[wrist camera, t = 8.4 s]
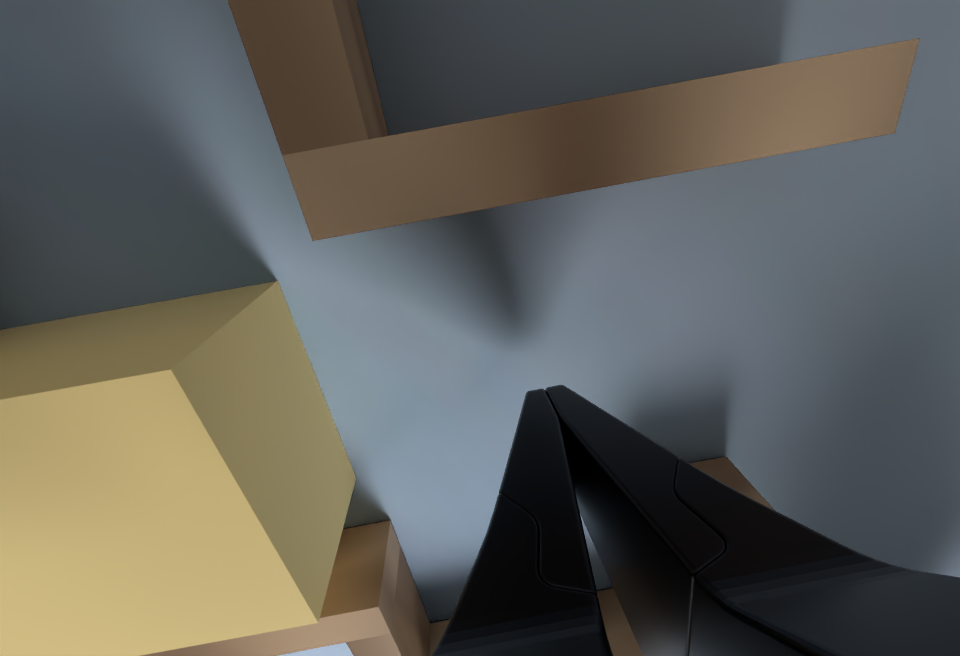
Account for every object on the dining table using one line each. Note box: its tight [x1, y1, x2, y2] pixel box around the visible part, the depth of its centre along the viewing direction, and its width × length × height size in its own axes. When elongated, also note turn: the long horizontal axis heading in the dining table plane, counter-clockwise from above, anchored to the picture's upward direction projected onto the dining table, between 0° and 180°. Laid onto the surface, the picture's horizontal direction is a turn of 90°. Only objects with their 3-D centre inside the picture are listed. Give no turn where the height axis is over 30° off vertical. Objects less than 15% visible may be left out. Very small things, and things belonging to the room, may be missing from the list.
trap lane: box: [141, 0, 920, 656], centre depth 9 cm, size 20×23×2 cm
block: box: [0, 281, 356, 656], centre depth 8 cm, size 7×6×4 cm
